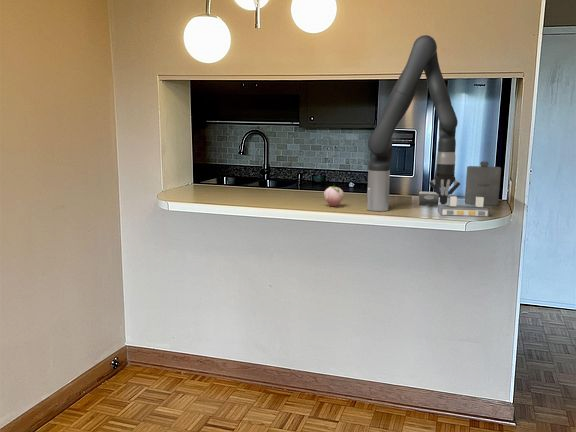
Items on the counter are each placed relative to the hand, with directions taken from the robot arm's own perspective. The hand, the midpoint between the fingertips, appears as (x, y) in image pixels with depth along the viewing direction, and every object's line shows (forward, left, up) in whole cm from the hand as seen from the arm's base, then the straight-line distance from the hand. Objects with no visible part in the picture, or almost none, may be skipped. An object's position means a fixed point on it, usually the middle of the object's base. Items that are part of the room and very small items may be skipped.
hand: (443, 204), depth 238 cm
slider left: (+4, 0, -1) cm, 4 cm away
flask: (+22, +29, -4) cm, 37 cm away
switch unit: (+8, 0, -4) cm, 9 cm away
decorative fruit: (-46, +10, -4) cm, 47 cm away
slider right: (+15, 0, -1) cm, 15 cm away
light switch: (-4, +16, -4) cm, 17 cm away
